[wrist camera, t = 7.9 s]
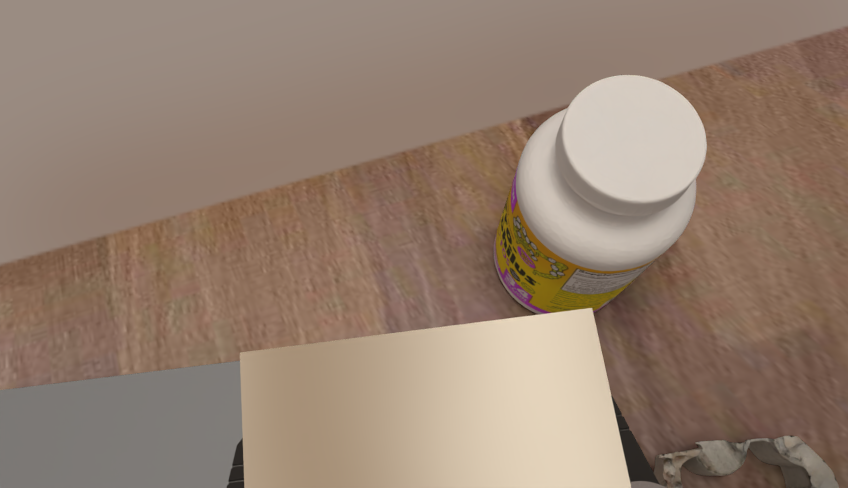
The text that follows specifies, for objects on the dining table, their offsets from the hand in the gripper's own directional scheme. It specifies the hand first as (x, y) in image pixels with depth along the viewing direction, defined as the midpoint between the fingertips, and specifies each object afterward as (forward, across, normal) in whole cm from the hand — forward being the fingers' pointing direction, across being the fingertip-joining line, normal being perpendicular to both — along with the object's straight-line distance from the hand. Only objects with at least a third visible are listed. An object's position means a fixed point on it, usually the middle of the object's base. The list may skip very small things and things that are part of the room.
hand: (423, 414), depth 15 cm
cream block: (+2, 0, +4) cm, 5 cm away
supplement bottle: (+18, -8, +6) cm, 20 cm away
